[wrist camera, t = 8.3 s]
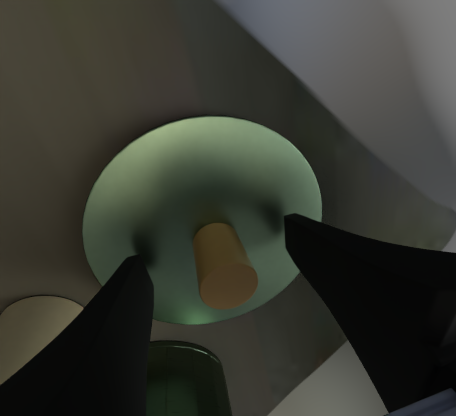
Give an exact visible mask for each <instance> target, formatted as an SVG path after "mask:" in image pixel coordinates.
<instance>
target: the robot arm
mask: <svg viewBox="0 0 456 416" xmlns="http://www.w3.org/2000/svg"><path fill="white" fill-rule="evenodd" d="M284 230H285V248H286V250H287V252H288V254H289V255H290V257H291V259H292V260H293V262H294V264H295V265H296V266H297V268H298V269H299V270H300V272H301V273H302V274H303V276H304V277H305V278H306V279H307V281H308V282H309V283H310V284H311V286H312V287H313V288H314V290H315V291H316V292H317V293H318V295H319V296H320V297H321V298H322V300H323V301H324V303H325V304H326V305H327V307H328V308H329V310H330V311H331V313H332V315H333V316H334V318H335V319H336V321H337V322H338V324H339V326H340V327H341V329H342V330H343V332H344V334H345V335H346V337H347V339H348V340H349V342H350V344H351V345H352V347H353V349H354V350H355V352H356V354H357V356H358V357H359V359H360V361H361V362H362V364H363V366H364V368H365V370H366V371H367V373H368V375H369V377H370V379H371V380H372V382H373V384H374V386H375V388H376V390H377V392H378V394H379V395H380V397H381V399H382V401H383V403H384V405H385V407H386V409H387V411H388V412H389V414H386V415H384V416H456V253H451V252H443V251H435V250H427V249H420V248H414V247H408V246H403V245H397V244H392V243H387V242H383V241H378V240H375V239H371V238H367V237H363V236H359V235H356V234H353V233H350V232H346V231H343V230H340V229H338V228H335V227H332V226H329V225H326V224H324V223H321V222H319V221H316V220H313V219H311V218H308V217H306V216H303V215H300V214H297V213H293V214H289V215H285V216H284ZM153 311H154V285H153V282H152V280H151V278H150V275H149V273H148V271H147V269H146V266H145V264H144V262H143V259H142V257H141V255H140V254H137V255H133V256H130V257H127V258H126V259H125V260H124V261H123V262H122V263H121V265H120V266H119V267H118V268H117V270H116V271H115V272H114V273H113V275H112V276H111V277H110V278H109V280H108V281H107V282H106V283H105V285H104V286H103V287H102V288H101V290H100V291H99V292H98V293H97V294H96V295H95V296H94V298H93V299H92V300H91V301H90V302H89V303H88V304H87V306H86V307H85V308H84V309H83V310H82V311H81V312H80V313H79V314H78V316H77V317H76V318H75V319H74V320H73V321H72V322H71V323H70V324H69V325H68V326H67V327H66V328H65V329H64V330H63V331H62V332H61V333H60V334H59V335H58V336H57V337H55V338H54V339H53V340H52V341H51V342H50V343H49V344H48V345H47V346H46V347H44V348H43V349H42V350H41V351H40V352H39V353H38V354H36V355H35V356H34V357H33V358H32V359H31V360H30V361H29V362H27V363H26V364H25V365H24V366H23V367H22V368H20V369H19V370H18V371H17V372H16V373H14V374H13V375H12V376H11V377H10V378H8V379H7V380H6V381H5V382H3V383H2V384H1V385H0V416H146V387H147V361H148V351H149V343H150V335H151V327H152V319H153Z"/></svg>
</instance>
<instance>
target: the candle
mask: <svg viewBox="0 0 456 416" xmlns="http://www.w3.org/2000/svg"><path fill="white" fill-rule="evenodd" d="M83 309H84V308H83V307H82V306H80V305H79V304H77V303H75V302H73V301H71V300H68V299H65V298H61V297H55V296H35V297H29V298H25V299H22V300H19V301H17V302H15V303H13V304H12V305H10V306H9V307H7V308H6V309H5V310H4V311H3V312H2V314H1V315H0V385H1V384H2V383H3V382H5V381H6V380H7V379H8V378H10V377H11V376H12V375H13V374H14V373H16V372H17V371H18V370H19V369H20V368H22V367H23V366H24V365H25V364H26V363H27V362H29V361H30V360H31V359H32V358H33V357H34V356H35V355H36V354H38V353H39V352H40V351H41V350H42V349H43V348H44V347H46V346H47V345H48V344H49V343H50V342H51V341H52V340H53V339H54V338H55V337H57V336H58V335H59V334H60V333H61V332H62V331H63V330H64V329H65V328H66V327H67V326H68V325H69V324H70V323H71V322H72V321H73V320H74V319H75V318H76V317H77V316H78V314H79V313H80V312H81V311H82V310H83Z"/></svg>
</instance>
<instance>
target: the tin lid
mask: <svg viewBox="0 0 456 416" xmlns="http://www.w3.org/2000/svg"><path fill="white" fill-rule="evenodd" d="M293 213H297V214H300V215H303V216H306V217H308V218H311V219H313V220H316V221H319V222H321V217H322V201H321V195H320V189H319V186H318V183H317V180H316V177H315V175H314V173H313V171H312V169H311V167H310V165H309V163H308V162H307V160H306V159H305V158H304V156H303V155H302V154H301V152H300V151H299V150H298V149H297V148H296V147H295V146H294V145H293V144H292V143H291V142H290V141H288V140H287V139H286V138H284V137H283V136H281V135H280V134H279V133H277V132H276V131H274V130H272V129H270V128H268V127H266V126H264V125H262V124H259V123H256V122H253V121H250V120H246V119H243V118H237V117H231V116H225V115H201V116H192V117H185V118H182V119H178V120H174V121H170V122H167V123H165V124H162V125H160V126H158V127H155V128H153V129H151V130H149V131H147V132H145V133H144V134H142V135H140V136H139V137H137V138H135V139H134V140H132V141H131V142H130V143H129V144H128V145H126V146H125V147H124V148H123V149H122V150H120V151H119V152H118V153H117V154H116V155H115V156H114V157H113V158H112V159H111V161H110V162H109V163H108V164H107V165H106V166H105V167H104V168H103V170H102V172H101V173H100V175H99V176H98V178H97V179H96V181H95V183H94V184H93V187H92V189H91V191H90V194H89V196H88V198H87V201H86V205H85V210H84V214H83V222H82V238H83V246H84V251H85V254H86V257H87V261H88V263H89V265H90V267H91V270H92V272H93V274H94V275H95V277H96V278H97V280H98V281H99V283H100V284H101V285H102V287H103V286H104V285H105V283H106V282H107V281H108V280H109V278H110V277H111V276H112V275H113V273H114V272H115V271H116V270H117V268H118V267H119V266H120V265H121V263H122V262H123V261H124V260H125V259H126V258H127V257H130V256H133V255H137V254H140V255H141V257H142V259H143V262H144V264H145V266H146V269H147V271H148V273H149V275H150V278H151V280H152V282H153V285H154V311H153V319H154V320H158V321H162V322H167V323H174V324H207V323H213V322H219V321H223V320H227V319H231V318H234V317H237V316H240V315H242V314H245V313H247V312H249V311H251V310H254V309H256V308H257V307H259V306H261V305H263V304H264V303H266V302H268V301H269V300H270V299H272V298H273V297H275V296H276V295H277V294H279V293H280V292H281V291H282V290H283V289H284V288H286V287H287V286H288V285H289V284H290V283H291V282H292V281H293V280H294V278H295V277H296V276H297V275H298V273H299V272H300V270H299V269H298V268H297V266H296V265H295V264H294V262H293V260H292V259H291V257H290V255H289V254H288V252H287V250H286V248H285V230H284V216H285V215H289V214H293Z"/></svg>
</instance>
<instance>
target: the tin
mask: <svg viewBox="0 0 456 416" xmlns="http://www.w3.org/2000/svg"><path fill="white" fill-rule="evenodd" d="M146 416H232V411H231V406H230V401H229V396H228V390H227V385H226V380H225V376H224V372H223V368H222V365H221V362H220V360H219V359H218V358H217V356H215V355H214V354H213V353H212V352H211V351H209V350H207V349H206V348H203V347H201V346H198V345H195V344H191V343H186V342H177V341H159V342H150V343H149V351H148V361H147V387H146Z"/></svg>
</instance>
